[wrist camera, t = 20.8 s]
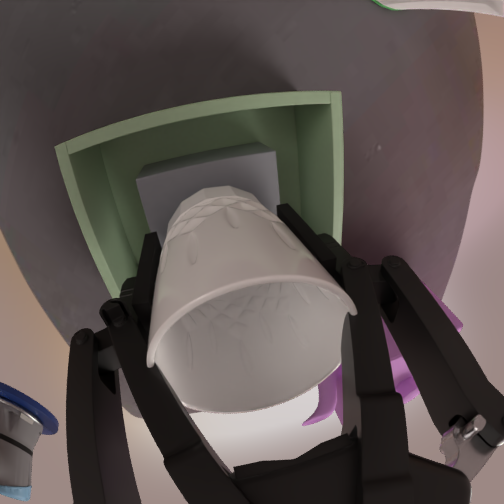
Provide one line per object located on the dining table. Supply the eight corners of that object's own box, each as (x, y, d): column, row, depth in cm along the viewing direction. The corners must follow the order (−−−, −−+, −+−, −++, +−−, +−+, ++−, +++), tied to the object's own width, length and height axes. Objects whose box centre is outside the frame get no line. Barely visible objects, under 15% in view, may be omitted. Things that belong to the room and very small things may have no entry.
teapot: (273, 297, 30) (324, 409, 18) (431, 265, 35) (493, 325, 23) (267, 374, 38) (297, 458, 26) (401, 335, 42) (442, 392, 31)
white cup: (288, 263, 20) (354, 374, 12) (185, 298, 20) (200, 427, 11) (264, 158, 16) (361, 238, 7) (138, 202, 15) (99, 328, 7)
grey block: (171, 263, 24) (171, 292, 20) (143, 165, 19) (135, 179, 15) (270, 241, 25) (284, 265, 22) (259, 141, 20) (276, 150, 17)
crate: (146, 298, 26) (142, 351, 20) (90, 131, 17) (54, 146, 11) (306, 261, 28) (336, 304, 22) (297, 90, 19) (341, 91, 13)
